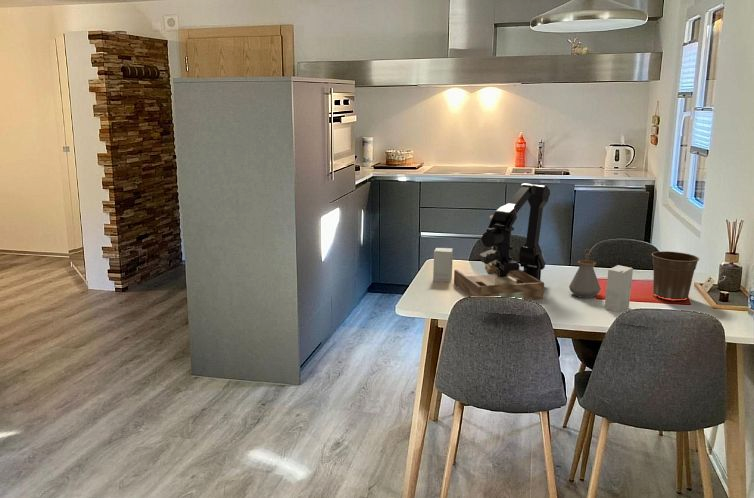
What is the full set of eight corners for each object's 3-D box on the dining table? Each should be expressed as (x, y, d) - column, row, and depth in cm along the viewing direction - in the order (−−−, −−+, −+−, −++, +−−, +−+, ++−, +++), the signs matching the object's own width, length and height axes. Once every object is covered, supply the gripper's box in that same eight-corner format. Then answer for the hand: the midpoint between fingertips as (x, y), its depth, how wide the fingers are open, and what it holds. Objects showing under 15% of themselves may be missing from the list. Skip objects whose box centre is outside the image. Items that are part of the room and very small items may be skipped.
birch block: (509, 286, 254) (509, 276, 253) (516, 290, 249) (516, 280, 248) (494, 287, 253) (495, 277, 252) (501, 291, 247) (501, 281, 246)
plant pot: (691, 293, 258) (695, 252, 254) (697, 305, 242) (702, 262, 239) (645, 289, 262) (649, 249, 259) (649, 301, 247) (653, 258, 243)
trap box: (513, 280, 274) (514, 266, 273) (543, 298, 250) (544, 282, 248) (453, 284, 269) (454, 269, 267) (478, 302, 244) (478, 286, 243)
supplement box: (450, 282, 271) (451, 251, 269) (432, 281, 273) (433, 251, 270) (452, 277, 278) (453, 248, 276) (434, 276, 280) (435, 247, 277)
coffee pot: (600, 300, 247) (603, 261, 244) (567, 297, 251) (570, 258, 248) (600, 285, 267) (603, 249, 264) (570, 283, 271) (572, 247, 268)
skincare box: (613, 304, 243) (617, 264, 240) (630, 307, 239) (633, 267, 236) (603, 309, 237) (607, 268, 234) (620, 312, 233) (623, 271, 230)
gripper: (473, 239, 259) (472, 277, 262) (492, 249, 241) (490, 291, 244) (500, 237, 261) (498, 276, 265) (521, 248, 244) (518, 289, 247)
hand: (500, 283), depth 255 cm, fingers closed
